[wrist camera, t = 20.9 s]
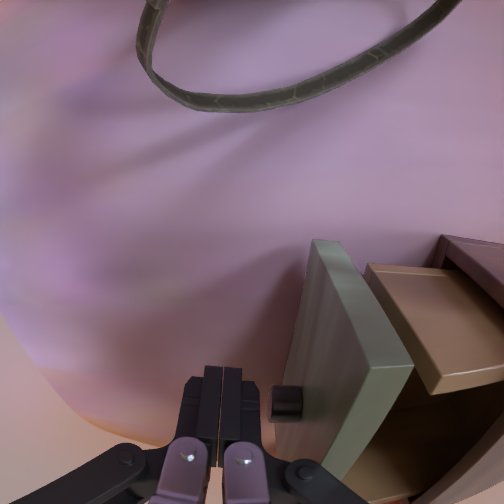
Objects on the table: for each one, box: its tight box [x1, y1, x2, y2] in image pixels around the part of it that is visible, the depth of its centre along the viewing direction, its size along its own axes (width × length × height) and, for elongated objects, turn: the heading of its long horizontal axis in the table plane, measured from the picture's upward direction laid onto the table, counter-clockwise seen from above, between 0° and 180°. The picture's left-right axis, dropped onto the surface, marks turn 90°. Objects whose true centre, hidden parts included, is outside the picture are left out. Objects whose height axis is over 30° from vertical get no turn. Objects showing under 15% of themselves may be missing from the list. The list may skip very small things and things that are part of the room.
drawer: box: [267, 239, 504, 504], centre depth 12 cm, size 14×11×7 cm
